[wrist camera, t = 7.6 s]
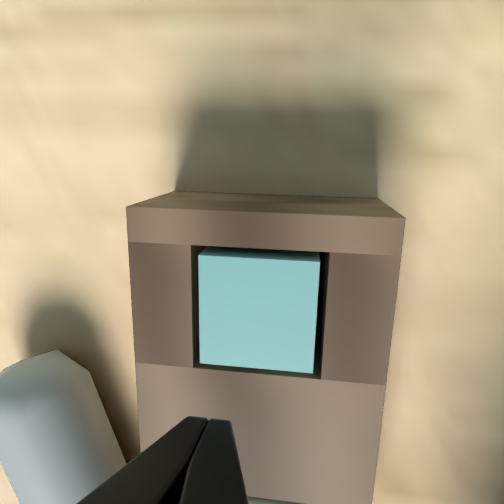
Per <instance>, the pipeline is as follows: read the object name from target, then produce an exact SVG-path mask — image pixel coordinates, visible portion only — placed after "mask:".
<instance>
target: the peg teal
mask: <svg viewBox="0 0 504 504" xmlns="http://www.w3.org/2000/svg"><path fill="white" fill-rule="evenodd" d="M198 269H199V339H200V363H202V364H213V365H225V366H236V367H247V368H258V369H269V370H280V371H292V372H303V373H313V363H314V348H315V333H316V317H317V302H318V287H319V271H320V256H319V252H315V251H296V250H277V249H258V248H238V247H219V246H207V247H206V248H205V249H204V250H203V251H202V252H201V253H200V254H199V255H198Z"/></svg>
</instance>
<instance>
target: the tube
mask: <svg viewBox="0 0 504 504" xmlns="http://www.w3.org/2000/svg"><path fill="white" fill-rule="evenodd" d="M0 462H1V464H2V466H3V469H4V471H5V473H6V475H7V477H8V479H9V481H10V483H11V485H12V488H13V490H14V492H15V494H16V496H17V498H18V500H19V502H20V504H76V503H78V502H79V501H80V500H82V499H83V498H84V497H85V496H87V495H88V494H89V493H90V492H92V491H93V490H94V489H95V488H97V487H98V486H99V485H101V484H102V483H103V482H104V481H106V480H107V479H108V478H109V477H111V476H112V475H113V474H115V473H116V472H117V471H118V470H120V469H121V468H122V467H123V466H125V465H126V462H125V459H124V457H123V454H122V452H121V449H120V447H119V444H118V442H117V439H116V437H115V434H114V432H113V429H112V427H111V424H110V422H109V419H108V417H107V414H106V412H105V409H104V407H103V405H102V402H101V400H100V397H99V395H98V392H97V390H96V387H95V385H94V382H93V380H92V377H91V375H90V372H89V371H88V370H86V369H85V368H83V367H82V366H81V365H79V364H78V363H76V362H75V361H73V360H72V359H70V358H69V357H67V356H66V355H65V354H63V353H62V352H60V351H59V350H57V349H56V350H53V351H50V352H47V353H44V354H41V355H37V356H34V357H31V358H28V359H25V360H21V361H19V362H17V363H15V364H13V365H11V366H9V367H7V368H5V369H3V371H2V372H1V373H0Z"/></svg>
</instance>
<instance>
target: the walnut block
mask: <svg viewBox="0 0 504 504" xmlns="http://www.w3.org/2000/svg"><path fill="white" fill-rule="evenodd" d="M126 216H127V233H128V250H129V267H130V284H131V300H132V317H133V334H134V351H135V368H136V384H137V401H138V418H139V435H140V452H142V451H144V450H145V449H146V448H148V447H149V446H150V445H151V444H153V443H154V442H155V441H156V440H158V439H159V438H160V437H162V436H163V435H164V434H165V433H167V432H168V431H169V430H170V429H172V428H173V427H174V426H175V425H177V424H178V423H179V422H181V421H182V420H183V419H184V418H186V417H188V416H197V417H206V418H207V419H208V420H210V419H212V418H216V419H225V420H230V421H231V423H232V428H233V432H234V437H235V442H236V446H237V451H238V456H239V460H240V465H241V470H242V474H243V479H244V484H245V488H246V493H247V496H250V497H258V498H265V499H273V500H281V501H289V502H296V503H304V504H372V500H373V491H374V483H375V474H376V466H377V457H378V449H379V440H380V432H381V423H382V415H383V406H384V398H385V389H386V381H387V372H388V364H389V355H390V347H391V338H392V330H393V321H394V313H395V304H396V296H397V287H398V279H399V270H400V262H401V253H402V245H403V236H404V228H405V219H406V218H405V217H403V216H402V215H400V214H399V213H398V212H396V211H395V210H394V209H392V208H391V207H389V206H388V205H387V204H385V203H384V202H382V201H381V200H380V199H377V198H348V197H320V196H292V195H263V194H235V193H207V192H178V191H173V192H170V193H167V194H164V195H161V196H158V197H155V198H152V199H148V200H145V201H142V202H139V203H136V204H133V205H130V206H127V207H126ZM207 246H219V247H238V248H258V249H277V250H296V251H315V252H322V263H321V278H320V293H319V308H318V321H316V333H315V348H314V363H313V373H303V372H292V371H280V370H269V369H258V368H247V367H236V366H225V365H213V364H202V363H200V339H199V269H198V255H199V254H200V253H201V252H202V251H203V250H204V249H205V248H206V247H207Z"/></svg>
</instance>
